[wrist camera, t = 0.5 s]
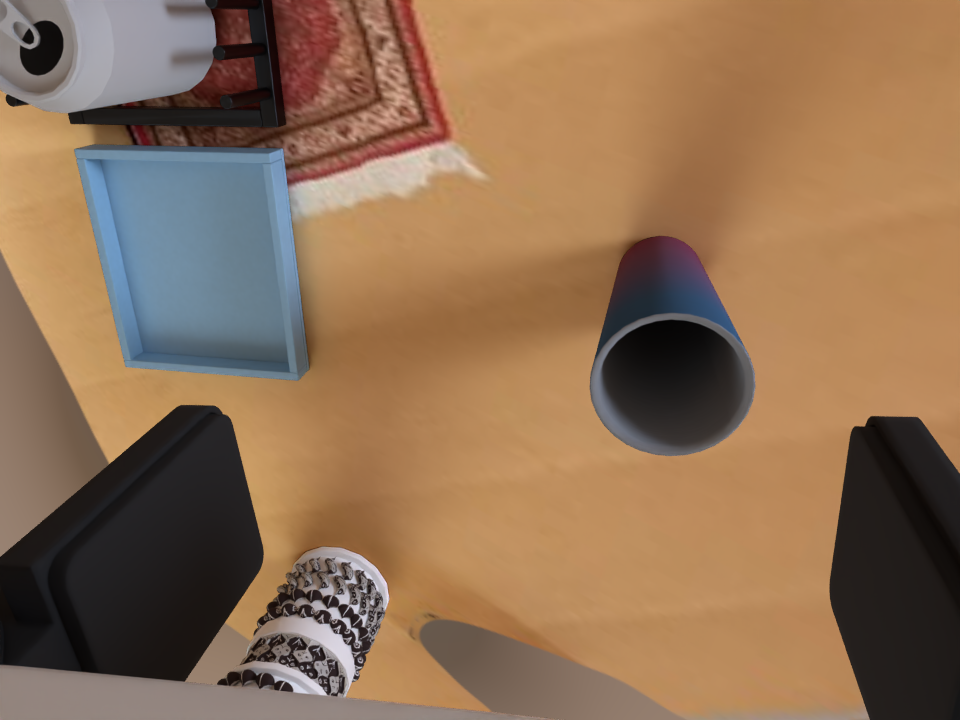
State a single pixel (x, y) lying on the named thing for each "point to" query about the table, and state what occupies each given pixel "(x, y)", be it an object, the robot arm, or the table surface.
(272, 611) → the decorative candle
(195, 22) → the can
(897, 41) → the table surface
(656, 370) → the cup
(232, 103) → the dish rack
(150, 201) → the tray
